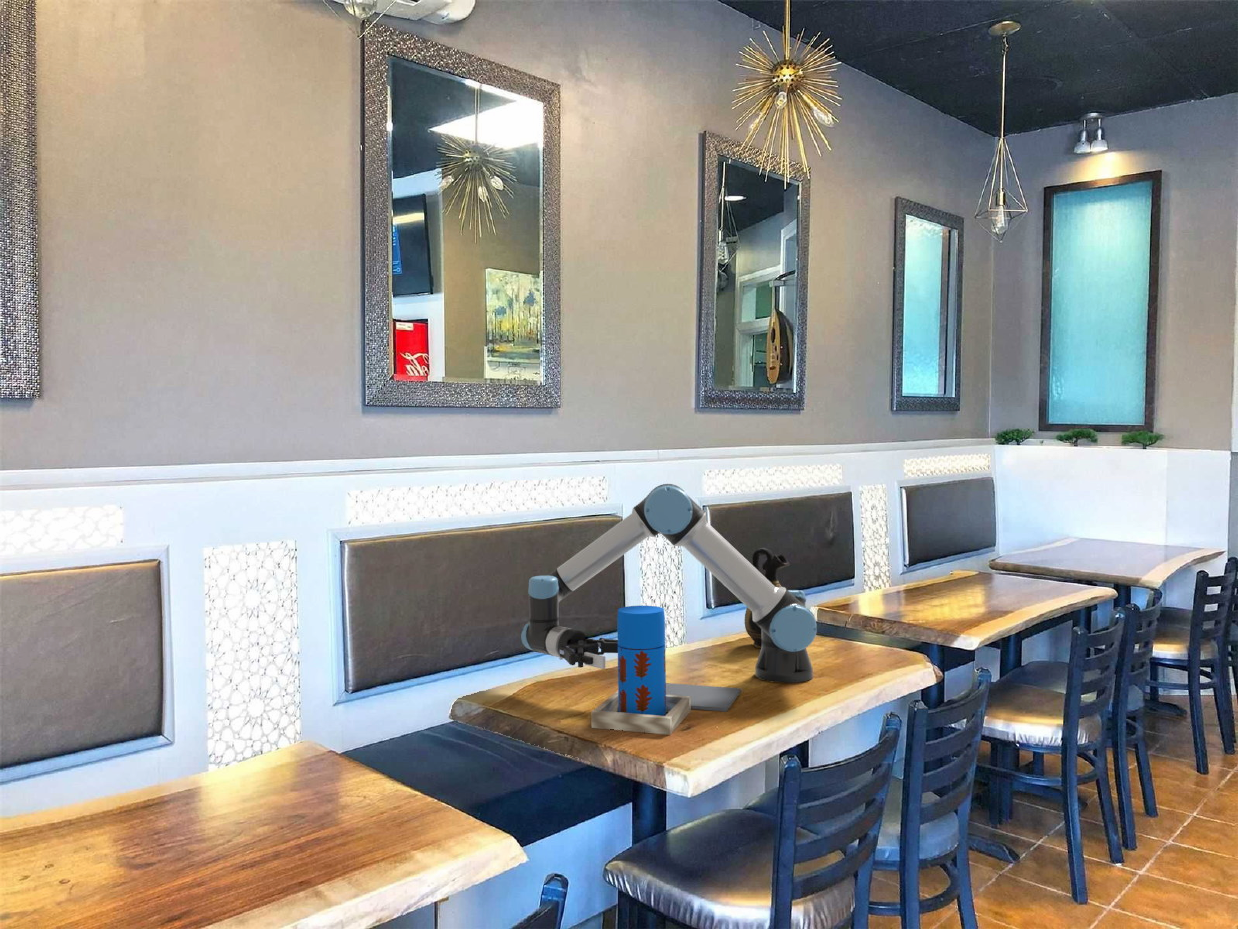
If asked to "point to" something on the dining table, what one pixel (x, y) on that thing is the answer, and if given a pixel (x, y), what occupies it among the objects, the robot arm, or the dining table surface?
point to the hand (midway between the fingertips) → (626, 657)
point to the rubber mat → (705, 696)
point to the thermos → (641, 660)
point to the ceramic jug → (771, 568)
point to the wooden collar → (641, 716)
